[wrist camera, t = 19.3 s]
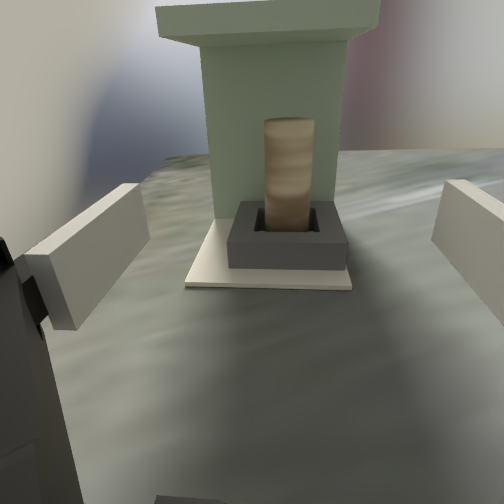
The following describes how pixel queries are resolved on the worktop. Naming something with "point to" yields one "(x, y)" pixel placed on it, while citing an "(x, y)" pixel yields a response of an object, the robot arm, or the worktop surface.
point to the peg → (288, 173)
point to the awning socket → (252, 131)
